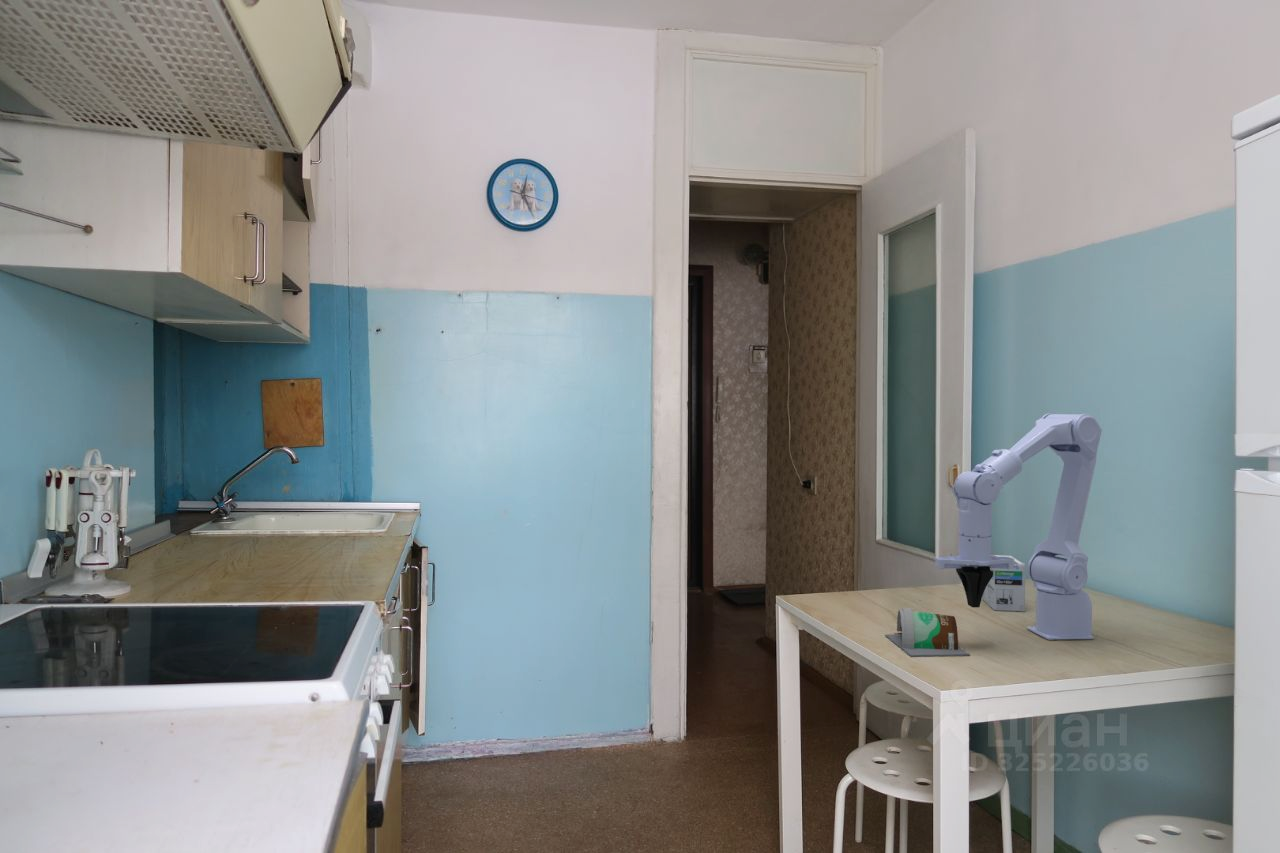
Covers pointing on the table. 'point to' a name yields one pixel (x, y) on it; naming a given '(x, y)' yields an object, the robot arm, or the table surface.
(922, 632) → the food container
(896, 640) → the mat
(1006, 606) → the light bulb box
